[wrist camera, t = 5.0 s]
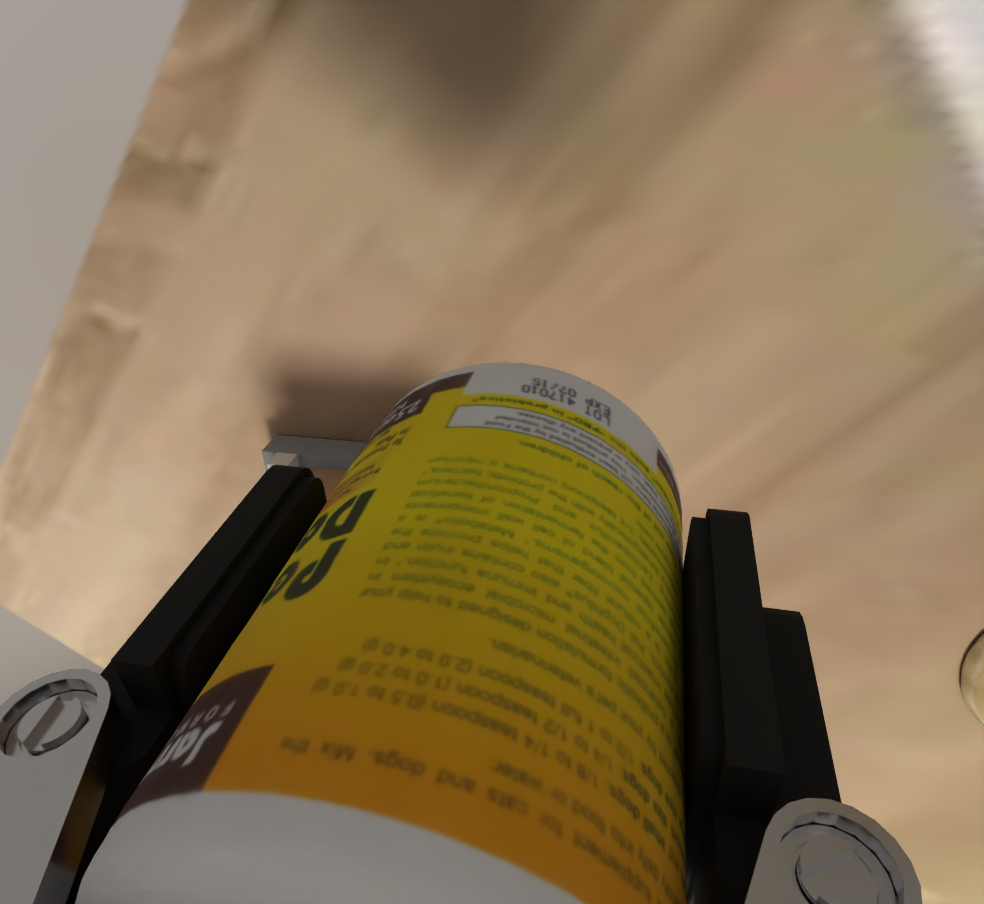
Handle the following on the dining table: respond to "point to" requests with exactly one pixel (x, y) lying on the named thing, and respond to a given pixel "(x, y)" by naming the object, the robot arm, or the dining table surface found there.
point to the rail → (314, 457)
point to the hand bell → (974, 679)
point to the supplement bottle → (445, 678)
